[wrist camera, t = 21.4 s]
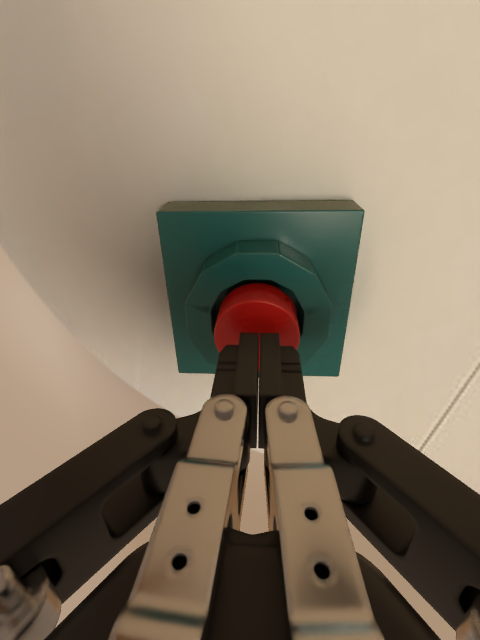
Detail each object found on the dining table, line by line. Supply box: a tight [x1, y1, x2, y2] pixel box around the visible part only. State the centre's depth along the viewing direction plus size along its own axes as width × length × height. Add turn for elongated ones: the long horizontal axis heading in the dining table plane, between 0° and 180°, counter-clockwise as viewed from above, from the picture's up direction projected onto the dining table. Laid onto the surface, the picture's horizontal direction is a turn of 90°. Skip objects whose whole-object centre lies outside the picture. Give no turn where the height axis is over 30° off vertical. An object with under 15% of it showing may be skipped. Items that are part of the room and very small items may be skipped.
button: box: [214, 283, 300, 367], centre depth 15 cm, size 4×4×2 cm
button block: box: [156, 200, 364, 376], centre depth 17 cm, size 9×9×4 cm
